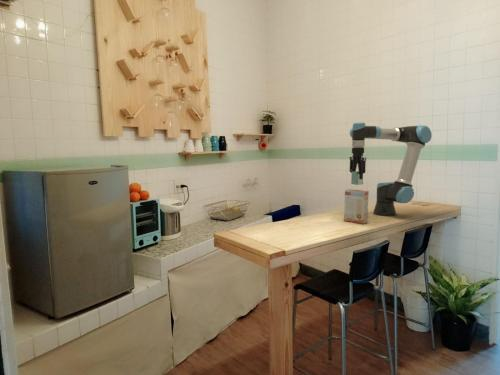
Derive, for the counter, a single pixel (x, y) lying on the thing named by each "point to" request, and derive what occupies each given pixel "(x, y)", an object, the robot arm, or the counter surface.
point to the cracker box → (356, 206)
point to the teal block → (355, 178)
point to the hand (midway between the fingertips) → (356, 183)
